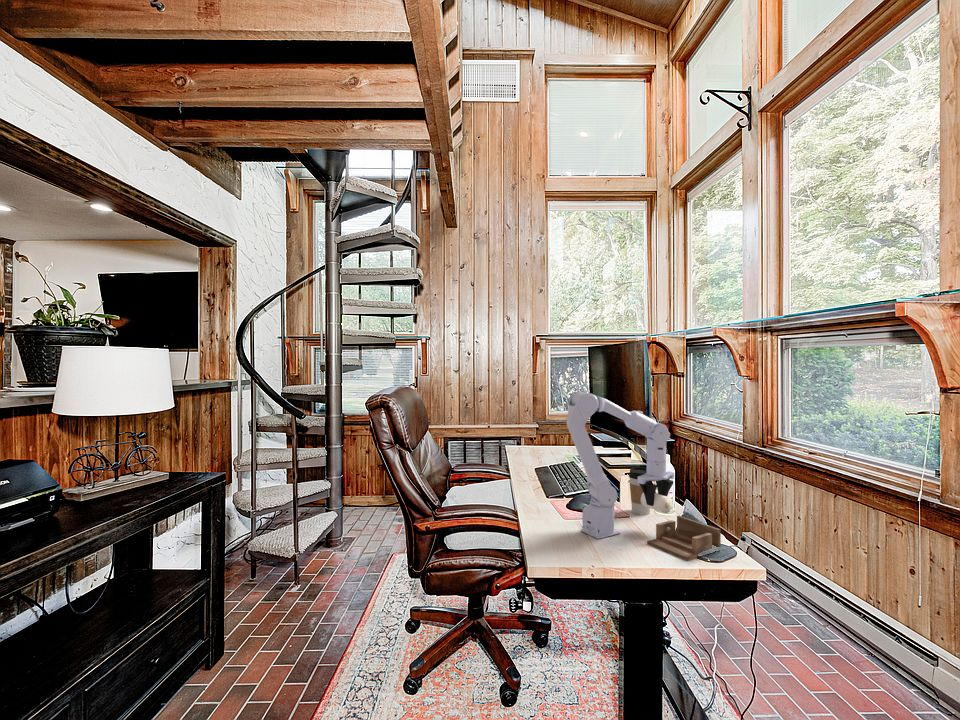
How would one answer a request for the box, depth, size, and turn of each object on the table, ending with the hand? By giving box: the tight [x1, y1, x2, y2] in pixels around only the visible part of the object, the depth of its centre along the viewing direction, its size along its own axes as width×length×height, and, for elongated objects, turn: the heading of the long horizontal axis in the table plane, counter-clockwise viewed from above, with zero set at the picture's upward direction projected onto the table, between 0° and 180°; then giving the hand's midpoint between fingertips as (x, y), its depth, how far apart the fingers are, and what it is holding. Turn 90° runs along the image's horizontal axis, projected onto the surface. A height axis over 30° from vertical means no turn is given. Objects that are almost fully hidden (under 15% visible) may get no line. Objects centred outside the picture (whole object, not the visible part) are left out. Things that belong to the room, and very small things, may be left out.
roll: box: [641, 492, 673, 514], centre depth 149 cm, size 5×8×5 cm, turn 30°
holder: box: [646, 515, 722, 561], centre depth 136 cm, size 14×14×6 cm
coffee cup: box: [628, 466, 651, 515], centre depth 167 cm, size 8×8×15 cm
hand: (656, 503), depth 149 cm, fingers closed on roll, 5 cm apart
